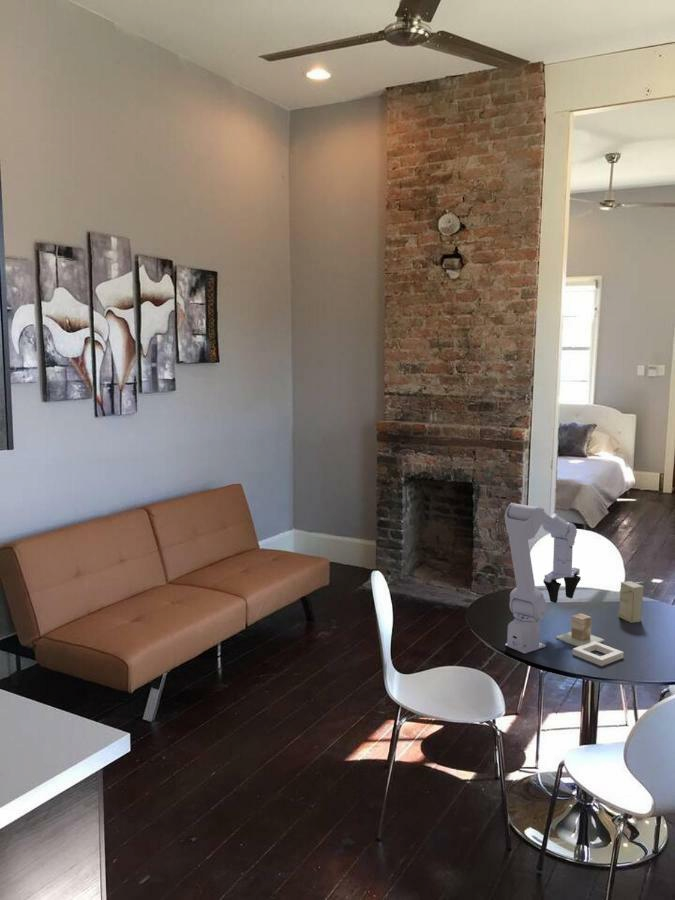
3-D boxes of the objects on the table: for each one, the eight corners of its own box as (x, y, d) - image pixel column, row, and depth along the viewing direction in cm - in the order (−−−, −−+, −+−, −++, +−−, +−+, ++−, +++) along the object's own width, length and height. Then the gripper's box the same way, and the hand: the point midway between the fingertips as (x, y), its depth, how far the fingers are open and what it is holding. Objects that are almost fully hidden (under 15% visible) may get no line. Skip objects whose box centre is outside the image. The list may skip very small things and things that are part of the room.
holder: (601, 666, 209) (601, 660, 208) (572, 654, 217) (572, 648, 217) (623, 657, 214) (623, 652, 214) (594, 646, 222) (594, 641, 222)
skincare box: (618, 617, 247) (619, 581, 245) (629, 615, 248) (630, 580, 247) (631, 623, 241) (633, 587, 240) (642, 621, 243) (644, 586, 241)
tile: (582, 648, 221) (583, 646, 221) (556, 638, 229) (556, 636, 229) (604, 641, 226) (604, 639, 226) (577, 631, 235) (577, 629, 235)
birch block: (581, 641, 225) (582, 619, 224) (571, 637, 228) (572, 615, 227) (590, 638, 227) (591, 616, 226) (579, 634, 230) (580, 613, 229)
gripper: (557, 565, 227) (556, 607, 229) (588, 557, 235) (586, 598, 237) (539, 560, 233) (538, 601, 235) (570, 552, 241) (568, 593, 243)
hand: (561, 599), depth 237 cm, fingers open, 7 cm apart
